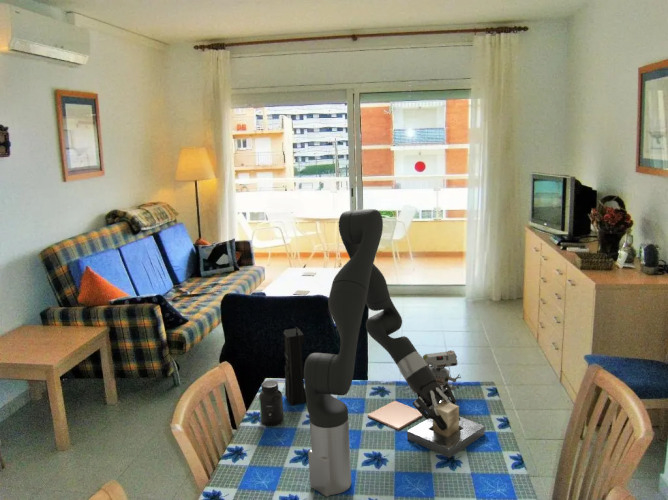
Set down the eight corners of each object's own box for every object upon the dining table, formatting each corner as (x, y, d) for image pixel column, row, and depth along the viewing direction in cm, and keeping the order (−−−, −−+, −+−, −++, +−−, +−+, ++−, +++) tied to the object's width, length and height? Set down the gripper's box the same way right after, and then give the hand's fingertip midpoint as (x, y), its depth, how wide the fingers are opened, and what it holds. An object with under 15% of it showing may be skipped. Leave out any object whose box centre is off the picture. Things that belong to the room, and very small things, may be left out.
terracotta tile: (398, 430, 168) (398, 428, 168) (367, 416, 177) (367, 414, 177) (425, 414, 176) (425, 412, 176) (394, 402, 185) (394, 400, 185)
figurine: (460, 405, 181) (460, 359, 178) (422, 403, 183) (421, 357, 180) (460, 392, 190) (460, 347, 186) (424, 390, 192) (423, 346, 189)
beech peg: (447, 443, 160) (447, 412, 158) (433, 437, 164) (432, 407, 162) (459, 436, 164) (458, 406, 162) (444, 430, 167) (443, 400, 165)
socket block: (449, 458, 153) (449, 449, 153) (407, 439, 164) (407, 430, 163) (484, 434, 164) (484, 426, 163) (443, 417, 174) (443, 409, 174)
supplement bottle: (257, 426, 175) (254, 388, 172) (265, 415, 181) (262, 378, 179) (279, 428, 173) (276, 389, 170) (286, 416, 179) (284, 379, 177)
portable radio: (284, 395, 193) (278, 322, 188) (302, 392, 195) (297, 319, 190) (289, 406, 186) (284, 330, 181) (308, 402, 188) (303, 327, 183)
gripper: (406, 373, 160) (443, 429, 154) (439, 357, 170) (475, 410, 164) (392, 386, 165) (427, 441, 159) (424, 370, 175) (459, 421, 169)
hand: (451, 425), depth 162 cm, fingers closed on beech peg, 5 cm apart
